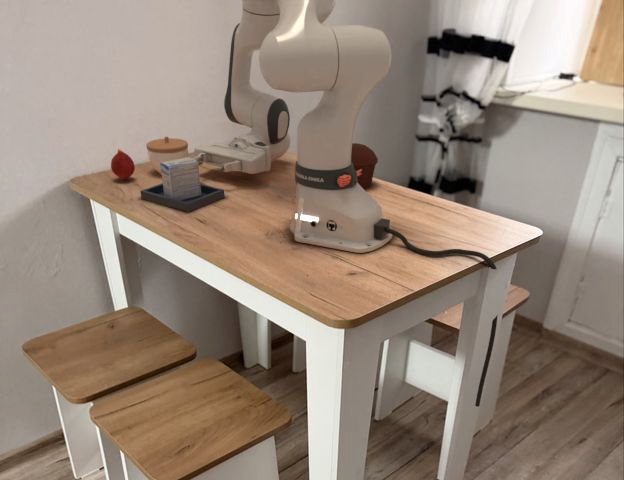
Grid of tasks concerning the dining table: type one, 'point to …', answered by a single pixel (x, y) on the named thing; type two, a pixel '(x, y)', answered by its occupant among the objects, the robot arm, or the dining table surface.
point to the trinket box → (166, 151)
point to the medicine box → (181, 178)
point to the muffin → (363, 163)
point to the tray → (188, 205)
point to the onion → (122, 165)
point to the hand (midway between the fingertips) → (209, 165)
